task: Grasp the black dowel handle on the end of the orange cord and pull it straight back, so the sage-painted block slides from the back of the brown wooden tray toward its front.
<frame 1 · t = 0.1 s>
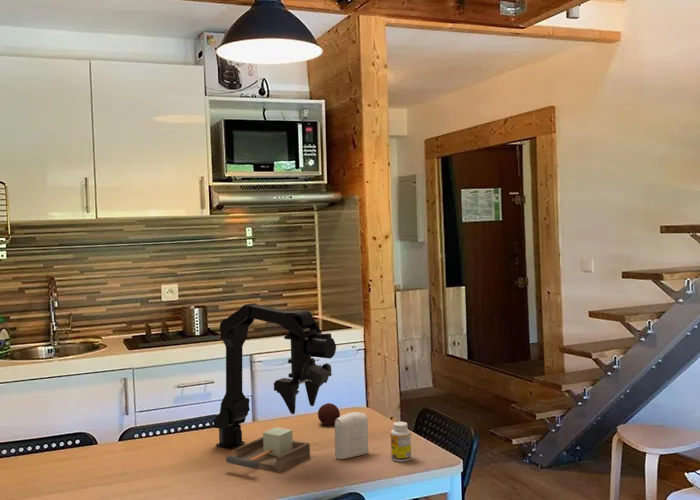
hand: (302, 409, 193), 15 cm above the table, fingers open, 9 cm apart
brown wooden tray: (273, 459, 195), on the table
supplement bottle: (401, 459, 193), on the table
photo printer: (352, 456, 197), on the table
corded block: (262, 448, 191), point 5 cm above the table, slide at 0.0 cm
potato: (329, 425, 228), on the table
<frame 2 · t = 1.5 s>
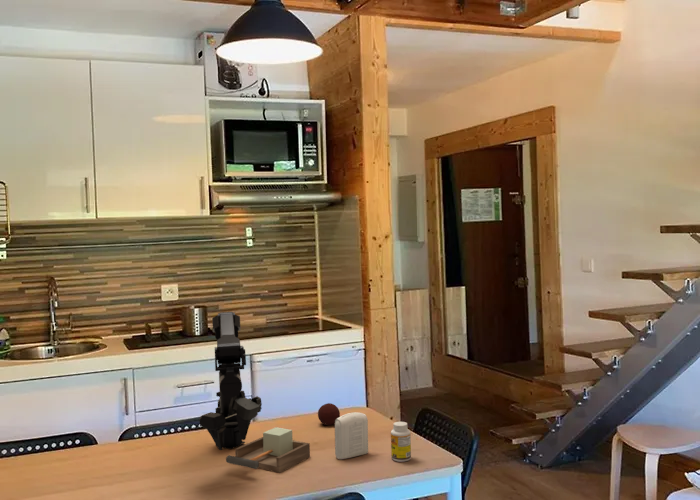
hand: (232, 444, 185), 8 cm above the table, fingers open, 9 cm apart
nothing on the table moved.
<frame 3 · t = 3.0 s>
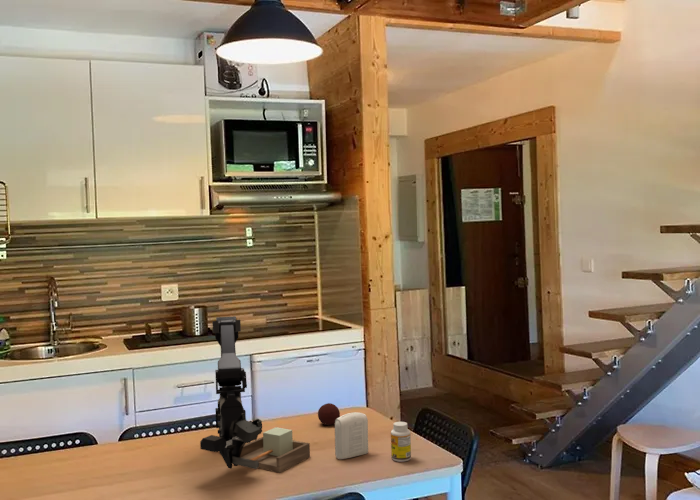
hand: (232, 467, 186), 2 cm above the table, fingers closed on corded block, 2 cm apart
corded block: (262, 448, 191), point 5 cm above the table, slide at 0.0 cm, touching gripper
everything else where it was.
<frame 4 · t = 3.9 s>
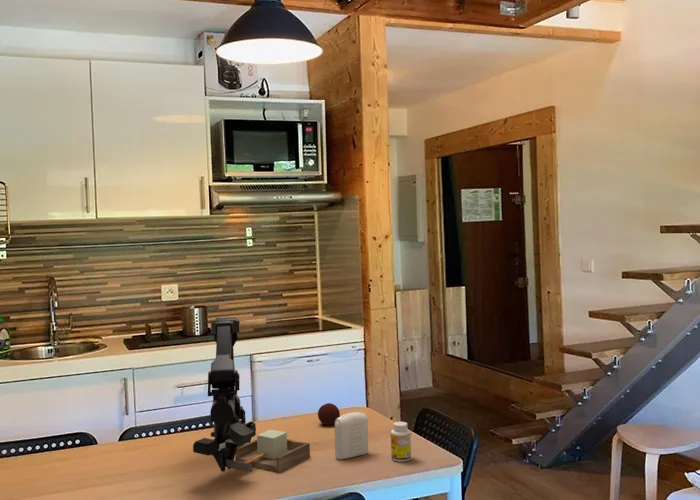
hand: (226, 470, 183), 2 cm above the table, fingers closed on corded block, 2 cm apart
corded block: (256, 451, 189), point 5 cm above the table, slide at 2.6 cm, touching gripper
everything else where it was.
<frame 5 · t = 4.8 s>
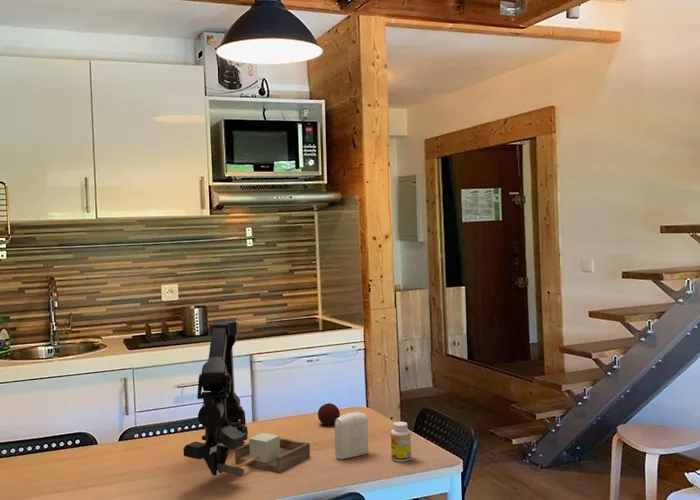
hand: (217, 474, 181), 2 cm above the table, fingers closed on corded block, 2 cm apart
corded block: (249, 454, 186), point 5 cm above the table, slide at 5.9 cm, touching gripper
everything else where it was.
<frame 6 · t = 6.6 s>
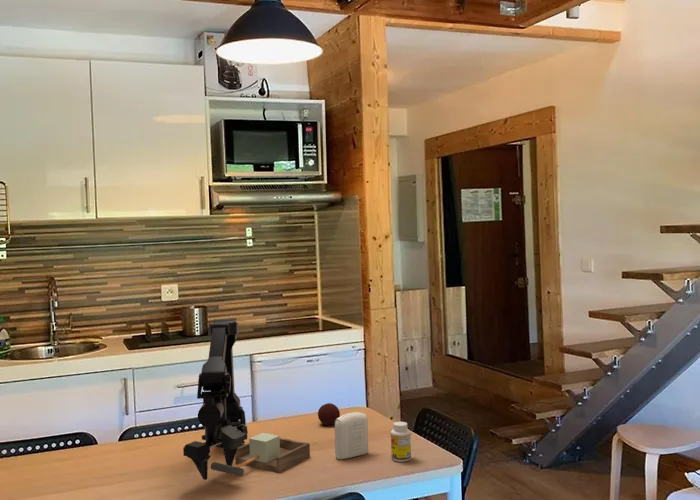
hand: (217, 473, 180), 2 cm above the table, fingers open, 9 cm apart
corded block: (248, 454, 186), point 5 cm above the table, slide at 5.9 cm
everything else where it was.
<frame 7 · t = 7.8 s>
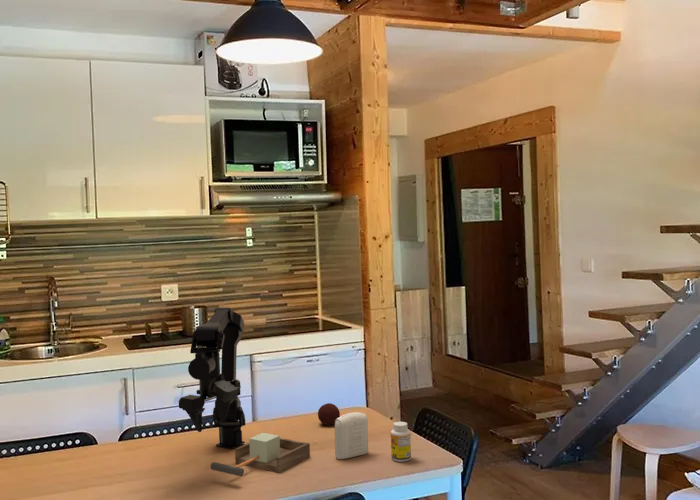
hand: (211, 427, 188), 12 cm above the table, fingers open, 9 cm apart
nothing on the table moved.
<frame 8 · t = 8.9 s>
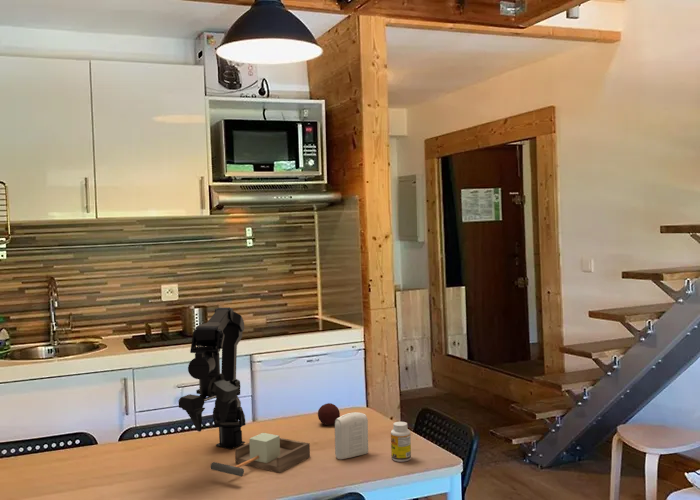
hand: (211, 426, 188), 12 cm above the table, fingers open, 9 cm apart
nothing on the table moved.
at the end: corded block slide at 5.9 cm; the gripper is holding nothing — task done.
